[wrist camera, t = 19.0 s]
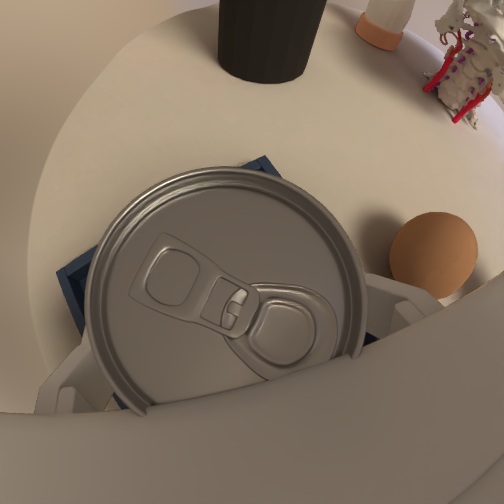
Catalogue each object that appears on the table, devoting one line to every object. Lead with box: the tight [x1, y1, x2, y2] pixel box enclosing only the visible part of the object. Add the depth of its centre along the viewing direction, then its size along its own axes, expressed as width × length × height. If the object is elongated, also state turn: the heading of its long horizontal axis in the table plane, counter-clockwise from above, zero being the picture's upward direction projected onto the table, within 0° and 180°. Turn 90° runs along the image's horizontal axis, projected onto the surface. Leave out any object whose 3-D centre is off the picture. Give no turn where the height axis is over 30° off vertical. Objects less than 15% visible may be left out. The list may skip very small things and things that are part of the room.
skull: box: [423, 0, 504, 130], centre depth 19 cm, size 25×19×23 cm
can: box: [84, 166, 368, 417], centre depth 11 cm, size 6×6×12 cm
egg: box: [389, 212, 478, 300], centre depth 18 cm, size 6×6×8 cm
